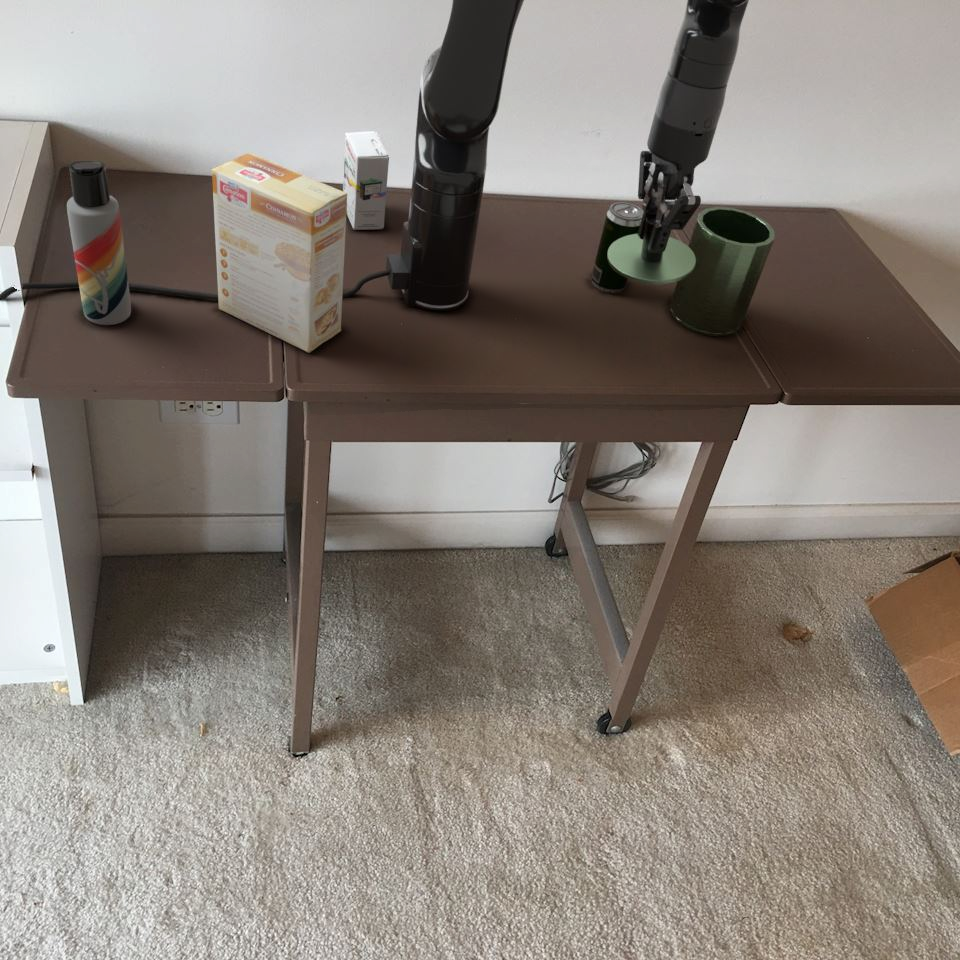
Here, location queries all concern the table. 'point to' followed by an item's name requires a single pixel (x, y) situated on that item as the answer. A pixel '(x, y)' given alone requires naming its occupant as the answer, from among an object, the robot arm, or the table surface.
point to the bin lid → (650, 258)
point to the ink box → (365, 179)
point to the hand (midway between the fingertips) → (650, 244)
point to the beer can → (617, 225)
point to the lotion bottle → (98, 245)
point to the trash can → (722, 271)
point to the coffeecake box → (279, 250)
